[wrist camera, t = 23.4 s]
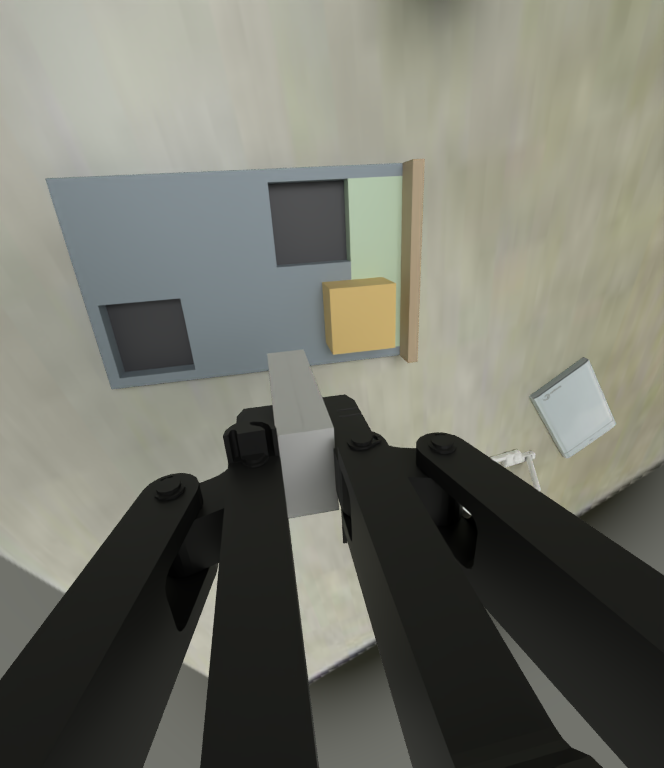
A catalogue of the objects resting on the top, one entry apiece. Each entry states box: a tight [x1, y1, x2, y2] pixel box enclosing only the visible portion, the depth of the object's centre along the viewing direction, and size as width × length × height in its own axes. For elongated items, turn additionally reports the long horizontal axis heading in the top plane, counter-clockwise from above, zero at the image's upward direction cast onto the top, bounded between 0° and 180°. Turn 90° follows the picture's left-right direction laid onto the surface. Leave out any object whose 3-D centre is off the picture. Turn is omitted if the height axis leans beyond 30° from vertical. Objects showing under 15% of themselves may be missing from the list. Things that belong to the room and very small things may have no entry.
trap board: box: [46, 159, 425, 389], centre depth 36 cm, size 30×18×4 cm, turn 93°
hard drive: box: [529, 357, 616, 458], centre depth 52 cm, size 2×8×12 cm
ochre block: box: [322, 277, 396, 355], centre depth 37 cm, size 6×6×4 cm
